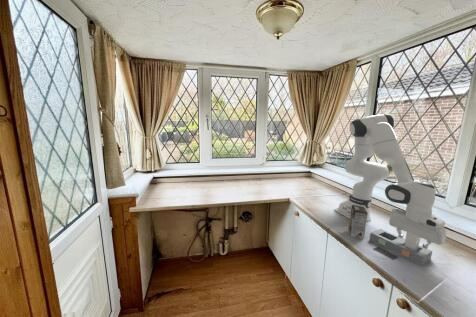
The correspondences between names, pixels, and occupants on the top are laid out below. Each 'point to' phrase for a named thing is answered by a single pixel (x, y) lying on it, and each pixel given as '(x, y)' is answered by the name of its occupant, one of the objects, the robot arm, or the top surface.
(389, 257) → the mat
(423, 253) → the socket block
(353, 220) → the coffee box
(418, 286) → the top surface
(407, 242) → the plug
